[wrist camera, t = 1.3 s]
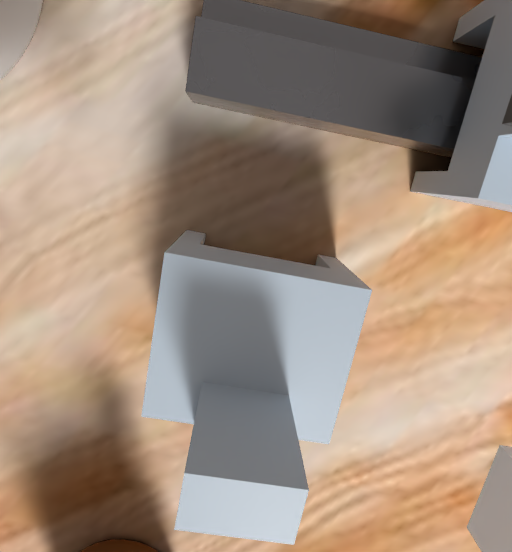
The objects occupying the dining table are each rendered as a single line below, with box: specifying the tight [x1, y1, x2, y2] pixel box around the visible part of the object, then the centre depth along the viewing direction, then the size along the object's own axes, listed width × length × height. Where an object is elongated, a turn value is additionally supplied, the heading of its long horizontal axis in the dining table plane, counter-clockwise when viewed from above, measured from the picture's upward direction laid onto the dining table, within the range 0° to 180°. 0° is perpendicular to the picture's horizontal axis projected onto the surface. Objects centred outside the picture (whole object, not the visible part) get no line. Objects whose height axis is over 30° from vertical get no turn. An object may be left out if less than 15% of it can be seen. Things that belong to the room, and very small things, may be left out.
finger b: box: [141, 230, 372, 545], centre depth 16 cm, size 8×8×11 cm
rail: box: [186, 0, 482, 158], centre depth 18 cm, size 20×4×3 cm, turn 79°
